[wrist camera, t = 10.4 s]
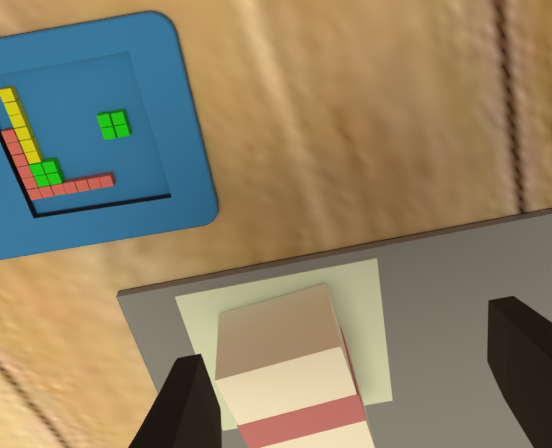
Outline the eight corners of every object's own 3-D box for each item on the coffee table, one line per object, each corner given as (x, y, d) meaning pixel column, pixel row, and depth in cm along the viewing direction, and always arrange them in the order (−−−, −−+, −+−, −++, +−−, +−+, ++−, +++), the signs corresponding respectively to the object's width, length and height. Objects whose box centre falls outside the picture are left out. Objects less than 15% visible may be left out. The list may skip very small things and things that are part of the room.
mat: (568, 205, 22) (575, 210, 22) (543, 444, 30) (547, 451, 29) (118, 291, 23) (115, 298, 22) (208, 502, 31) (207, 510, 30)
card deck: (361, 388, 26) (380, 459, 22) (265, 414, 27) (269, 487, 23) (326, 282, 23) (342, 346, 19) (217, 313, 23) (213, 381, 20)
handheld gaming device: (-275, 88, 17) (168, 9, 17) (-247, 80, 18) (172, 5, 18) (-138, 287, 21) (221, 226, 21) (-121, 272, 22) (221, 214, 22)
